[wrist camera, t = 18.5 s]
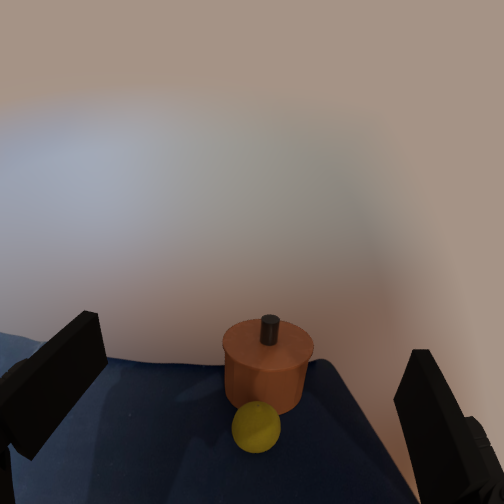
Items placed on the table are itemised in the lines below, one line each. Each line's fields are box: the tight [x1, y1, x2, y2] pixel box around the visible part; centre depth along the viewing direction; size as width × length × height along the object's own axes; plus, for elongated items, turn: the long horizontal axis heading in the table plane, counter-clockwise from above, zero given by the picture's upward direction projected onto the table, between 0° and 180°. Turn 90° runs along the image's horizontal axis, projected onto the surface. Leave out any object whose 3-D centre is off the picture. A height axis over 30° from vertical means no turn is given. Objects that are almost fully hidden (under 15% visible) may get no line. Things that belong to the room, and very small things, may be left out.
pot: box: [225, 353, 308, 415], centre depth 43 cm, size 11×11×8 cm
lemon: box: [232, 401, 281, 453], centre depth 32 cm, size 6×6×8 cm
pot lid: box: [223, 315, 314, 372], centre depth 41 cm, size 12×12×5 cm
